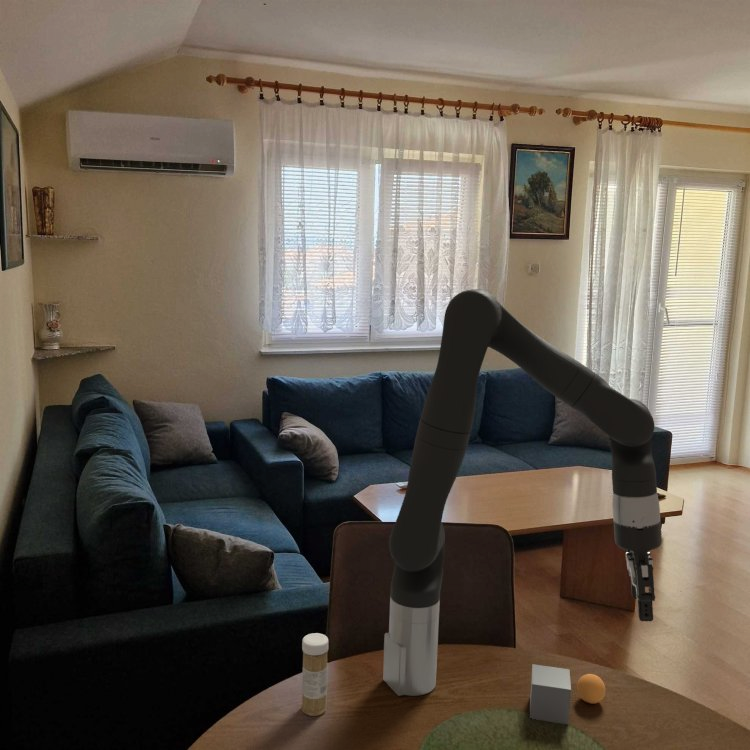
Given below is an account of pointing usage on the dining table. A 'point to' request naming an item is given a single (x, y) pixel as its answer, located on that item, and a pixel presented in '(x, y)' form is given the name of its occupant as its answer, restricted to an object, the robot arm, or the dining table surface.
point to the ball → (591, 688)
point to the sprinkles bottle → (314, 674)
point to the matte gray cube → (550, 694)
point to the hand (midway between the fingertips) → (642, 608)
